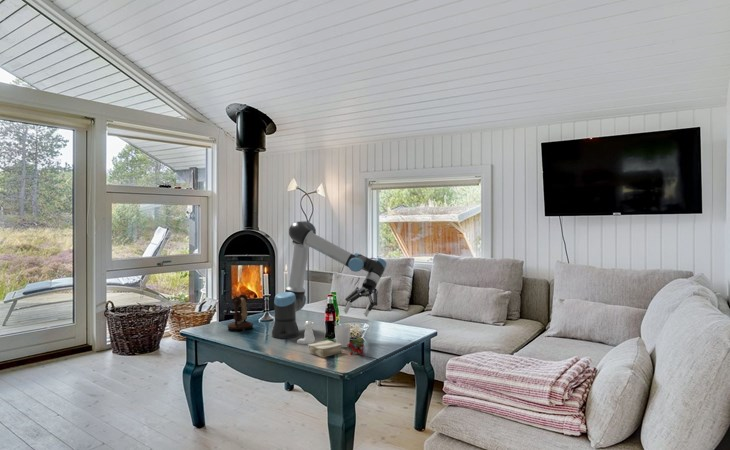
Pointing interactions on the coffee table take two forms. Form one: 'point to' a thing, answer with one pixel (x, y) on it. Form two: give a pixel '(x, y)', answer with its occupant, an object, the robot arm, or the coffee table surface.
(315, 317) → the coffee table surface
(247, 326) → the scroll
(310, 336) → the sitting furry creature
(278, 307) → the robot arm
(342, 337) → the white cup
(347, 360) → the coffee table surface
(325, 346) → the birch stand
